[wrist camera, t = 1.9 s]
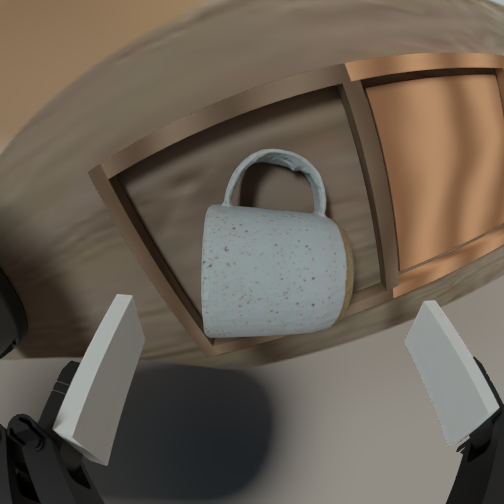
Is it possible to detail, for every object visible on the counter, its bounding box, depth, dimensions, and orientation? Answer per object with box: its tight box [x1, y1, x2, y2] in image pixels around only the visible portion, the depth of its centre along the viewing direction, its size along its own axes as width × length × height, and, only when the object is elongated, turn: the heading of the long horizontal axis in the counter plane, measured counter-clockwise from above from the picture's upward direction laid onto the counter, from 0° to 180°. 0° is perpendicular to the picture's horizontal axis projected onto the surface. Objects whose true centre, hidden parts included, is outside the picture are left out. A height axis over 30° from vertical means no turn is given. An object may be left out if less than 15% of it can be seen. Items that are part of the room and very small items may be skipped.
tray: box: [88, 53, 504, 357], centre depth 17 cm, size 35×18×1 cm, turn 111°
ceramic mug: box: [201, 149, 354, 338], centre depth 16 cm, size 11×8×8 cm
